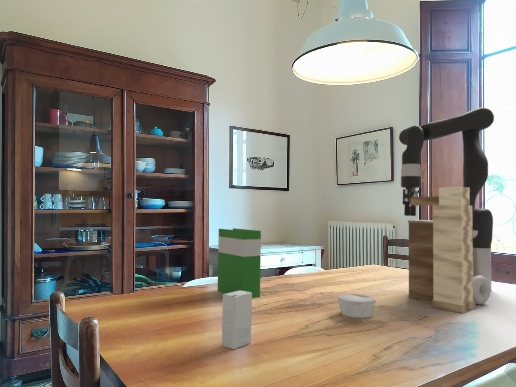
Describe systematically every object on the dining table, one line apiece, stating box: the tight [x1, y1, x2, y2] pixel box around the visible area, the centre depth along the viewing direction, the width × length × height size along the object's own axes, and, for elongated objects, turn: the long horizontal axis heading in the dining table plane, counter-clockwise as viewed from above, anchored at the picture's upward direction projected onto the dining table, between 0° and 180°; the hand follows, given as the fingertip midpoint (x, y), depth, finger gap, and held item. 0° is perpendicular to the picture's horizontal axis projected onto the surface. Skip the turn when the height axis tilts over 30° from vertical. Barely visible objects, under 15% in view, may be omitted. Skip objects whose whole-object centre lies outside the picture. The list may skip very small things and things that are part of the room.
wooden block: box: [431, 205, 476, 314], centre depth 130 cm, size 10×10×34 cm
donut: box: [473, 275, 491, 306], centre depth 135 cm, size 10×3×10 cm, turn 119°
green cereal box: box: [217, 227, 262, 299], centre depth 147 cm, size 18×7×24 cm, turn 36°
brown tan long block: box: [411, 186, 470, 206], centre depth 135 cm, size 7×18×6 cm, turn 41°
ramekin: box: [337, 293, 376, 319], centre depth 120 cm, size 11×11×5 cm
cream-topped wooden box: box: [407, 219, 433, 301], centre depth 146 cm, size 12×13×28 cm
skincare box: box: [221, 291, 253, 350], centre depth 92 cm, size 6×4×12 cm
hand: (410, 215), depth 158 cm, fingers open, 8 cm apart
